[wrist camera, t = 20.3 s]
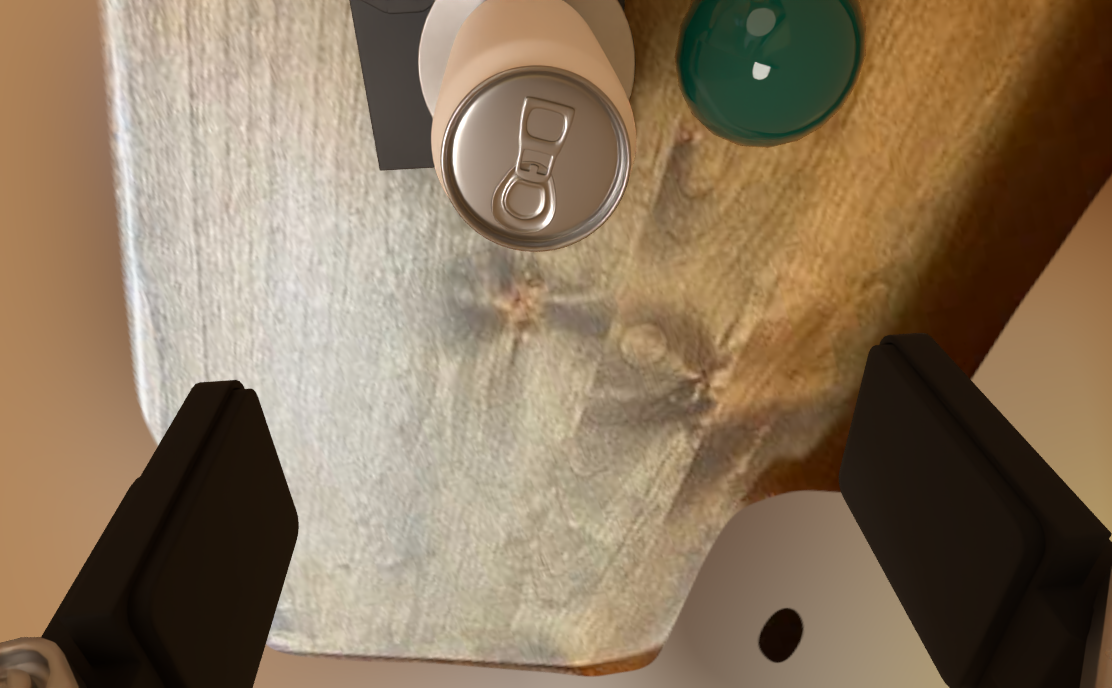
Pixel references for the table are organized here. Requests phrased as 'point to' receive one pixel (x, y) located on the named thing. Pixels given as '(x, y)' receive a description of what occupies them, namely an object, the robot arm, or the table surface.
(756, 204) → the table surface
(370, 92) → the scale
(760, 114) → the sphere
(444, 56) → the brushed metal disc
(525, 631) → the table surface
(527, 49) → the can
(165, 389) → the table surface
